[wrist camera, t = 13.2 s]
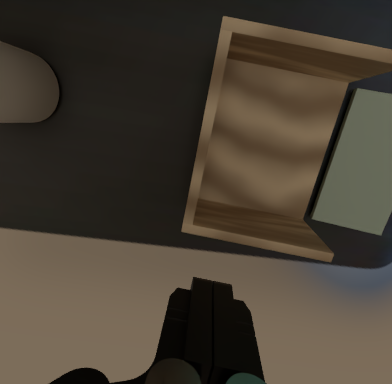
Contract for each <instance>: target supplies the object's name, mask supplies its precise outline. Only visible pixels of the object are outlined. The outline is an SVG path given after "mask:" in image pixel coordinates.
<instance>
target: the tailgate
mask: <svg viewBox="0 0 392 384" xmlns="http://www.w3.org/2000/svg"><path fill="white" fill-rule="evenodd" d="M391 211H392V94H388V93H382V92H376V91H370V90H365V89H359V88H357V89H354V90H353V93H352V96H351V99H350V102H349V105H348V108H347V111H346V114H345V117H344V119H343V122H342V125H341V128H340V131H339V134H338V137H337V140H336V143H335V146H334V148H333V151H332V154H331V157H330V160H329V163H328V166H327V169H326V172H325V175H324V177H323V180H322V183H321V186H320V189H319V192H318V195H317V198H316V201H315V204H314V207H313V209H312V212H311V215H310V217H311V218H312V219H314V220H318V221H322V222H327V223H331V224H335V225H339V226H343V227H348V228H352V229H356V230H360V231H364V232H369V233H373V234H377V235H381V234H382V232H383V230H384V227H385V225H386V223H387V220H388V218H389V216H390V214H391Z"/></svg>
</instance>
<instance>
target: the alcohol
mask: <svg viewBox="0 0 392 384" xmlns="http://www.w3.org/2000/svg"><path fill="white" fill-rule="evenodd" d="M58 100H59V85H58V82H57V78H56V76H55V74H54V72H53V70H52V69H51V68H50V66H49V65H48V64H47V63H46V62H45V61H44V60H43V59H42V58H40V57H39V56H37V55H35V54H33V53H31V52H28V51H25V50H23V49H20V48H17V47H15V46H12V45H9V44H7V43H4V42H1V41H0V123H32V122H40V121H42V120H45V119H47V118H48V117H49V116H50V115H51V114H52V113H53V112H54V110H55V109H56V107H57V104H58Z"/></svg>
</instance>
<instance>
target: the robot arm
mask: <svg viewBox="0 0 392 384" xmlns="http://www.w3.org/2000/svg"><path fill="white" fill-rule="evenodd" d="M50 384H266V383H265V380H264V375H263V371H262V366H261V361H260V356H259V351H258V346H257V341H256V337H255V331H254V327H253V321H252V316H251V312H250V310H249V309H248V307H247V306H246V304H245V303H244V302H243V301H240V300H236V299H233V291H232V285H230V284H226V283H221V282H216V281H211V280H206V279H201V278H197V277H193V281H192V285H191V289H190V290H186V289H182V288H177V289H176V290H175V291H174V292H173V293H172V294H171V296H170V298H169V302H168V306H167V311H166V315H165V320H164V323H163V327H162V331H161V336H160V340H159V344H158V348H157V353H156V357H155V359H154V362H153V364H152V365H151V366H150V368H149V369H148V370H147V371H146V372H145V373H144V374H142V375H141V376H139V377H137V378H134V379H132V380H127V381H121V382H114V383H109V381H108V379H107V378H106V376H105V375H104V374H103V373H102V372H100V371H98V370H96V369H92V368H79V369H75V370H72V371H70V372H68V373H66V374H64V375H62V376H61V377H60V378H57V379H56V380H54V381H52V382H51V383H50Z"/></svg>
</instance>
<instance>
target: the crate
mask: <svg viewBox="0 0 392 384" xmlns="http://www.w3.org/2000/svg"><path fill="white" fill-rule="evenodd" d="M390 71H392V50H391V49H386V48H381V47H376V46H371V45H366V44H361V43H356V42H351V41H346V40H341V39H336V38H331V37H326V36H321V35H316V34H311V33H306V32H301V31H296V30H291V29H286V28H281V27H276V26H271V25H266V24H261V23H256V22H251V21H246V20H241V19H236V18H231V17H226V16H223V20H222V25H221V30H220V35H219V40H218V46H217V51H216V56H215V61H214V66H213V71H212V76H211V82H210V87H209V92H208V97H207V102H206V107H205V113H204V118H203V123H202V128H201V133H200V138H199V143H198V149H197V154H196V159H195V164H194V169H193V174H192V180H191V185H190V190H189V195H188V200H187V205H186V210H185V216H184V221H183V226H182V231H181V232H186V233H191V234H195V235H200V236H205V237H210V238H215V239H220V240H225V241H230V242H234V243H239V244H244V245H249V246H254V247H259V248H264V249H269V250H273V251H278V252H283V253H288V254H293V255H298V256H303V257H308V258H313V259H317V260H322V261H327V262H331V261H332V258H333V256H334V253H333V252H332V251H331V250H330V249H329V248H328V247H327V246H326V244H325V243H324V242H323V241H322V240H321V239H320V238H319V237H318V236H317V235H316V234H315V232H314V231H313V230H312V229H311V228H310V227H309V226H308V225H307V224H306V223H305V221H304V220H303V217H304V214H305V211H306V208H307V205H308V202H309V199H310V197H311V194H312V191H313V188H314V185H315V182H316V179H317V176H318V173H319V170H320V167H321V164H322V161H323V158H324V155H325V152H326V149H327V146H328V143H329V140H330V137H331V134H332V131H333V128H334V125H335V122H336V119H337V116H338V113H339V110H340V108H341V105H342V102H343V99H344V96H345V93H346V90H347V87H348V84H349V83H350V82H354V81H357V80H361V79H365V78H368V77H372V76H375V75H379V74H383V73H386V72H390Z"/></svg>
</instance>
